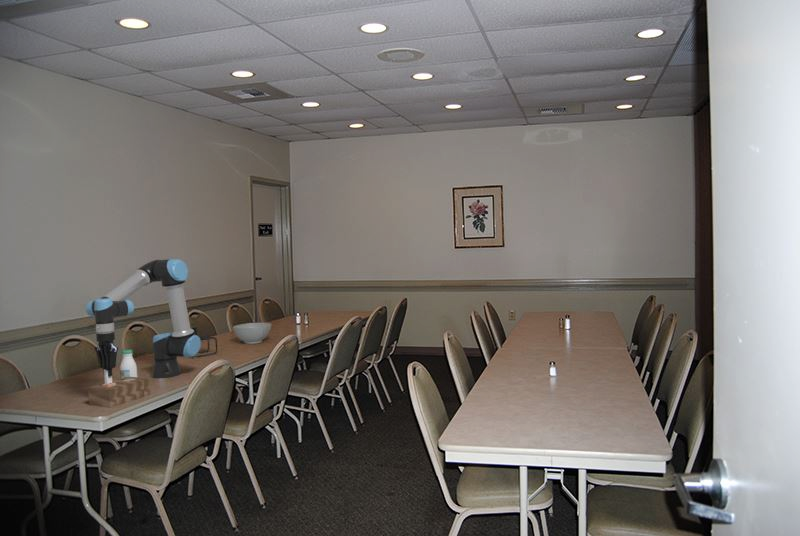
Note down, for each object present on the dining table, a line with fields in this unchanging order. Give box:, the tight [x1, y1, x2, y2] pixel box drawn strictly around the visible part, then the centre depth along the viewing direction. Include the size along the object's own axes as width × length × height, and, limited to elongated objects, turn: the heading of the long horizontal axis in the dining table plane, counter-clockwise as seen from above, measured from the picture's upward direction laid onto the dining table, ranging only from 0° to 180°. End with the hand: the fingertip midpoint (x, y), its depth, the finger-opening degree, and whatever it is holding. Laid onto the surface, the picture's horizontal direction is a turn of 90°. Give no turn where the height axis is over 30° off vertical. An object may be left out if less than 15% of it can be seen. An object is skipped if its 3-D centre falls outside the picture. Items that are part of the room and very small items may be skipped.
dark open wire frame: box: [190, 323, 219, 359], centre depth 382 cm, size 13×17×22 cm
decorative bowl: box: [232, 322, 272, 345], centre depth 424 cm, size 27×27×12 cm
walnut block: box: [87, 377, 151, 409], centre depth 279 cm, size 22×14×8 cm, turn 155°
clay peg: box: [101, 383, 116, 387], centre depth 274 cm, size 4×4×8 cm
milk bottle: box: [119, 349, 138, 379], centre depth 297 cm, size 8×8×20 cm
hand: (108, 383), depth 273 cm, fingers closed
